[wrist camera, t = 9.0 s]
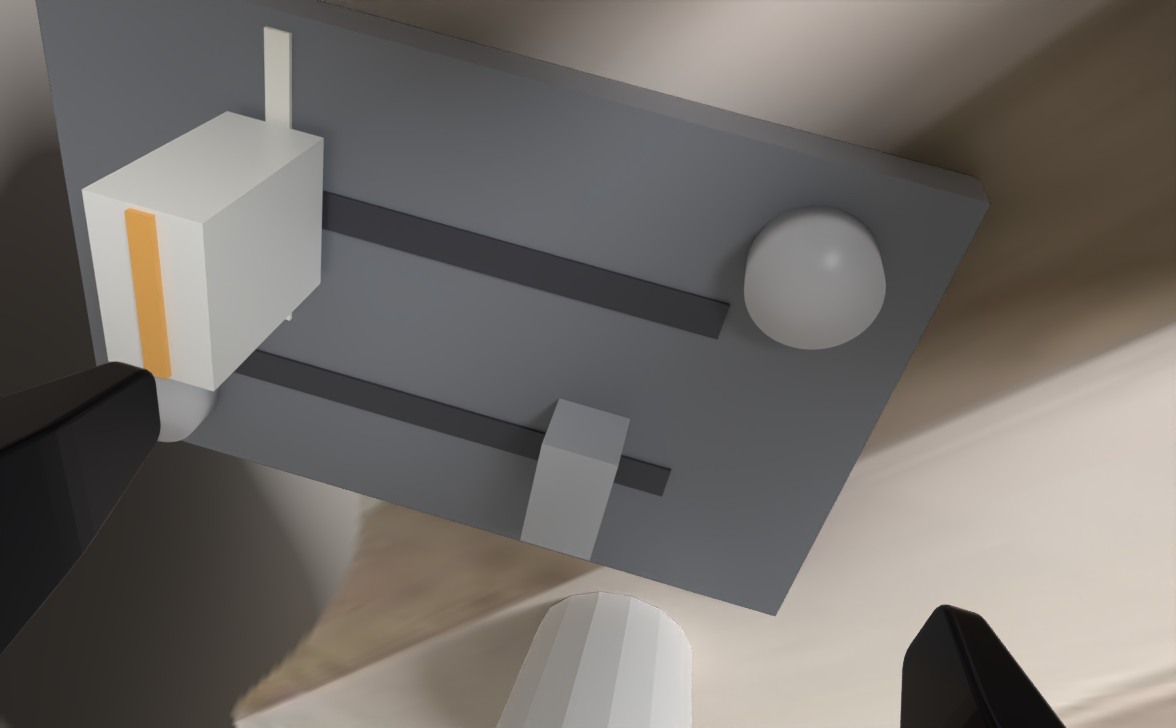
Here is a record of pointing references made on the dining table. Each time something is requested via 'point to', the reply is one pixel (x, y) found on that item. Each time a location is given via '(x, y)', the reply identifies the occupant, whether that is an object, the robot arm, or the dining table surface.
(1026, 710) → the robot arm
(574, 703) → the white cup
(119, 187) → the fader
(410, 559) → the dining table surface
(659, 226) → the console
